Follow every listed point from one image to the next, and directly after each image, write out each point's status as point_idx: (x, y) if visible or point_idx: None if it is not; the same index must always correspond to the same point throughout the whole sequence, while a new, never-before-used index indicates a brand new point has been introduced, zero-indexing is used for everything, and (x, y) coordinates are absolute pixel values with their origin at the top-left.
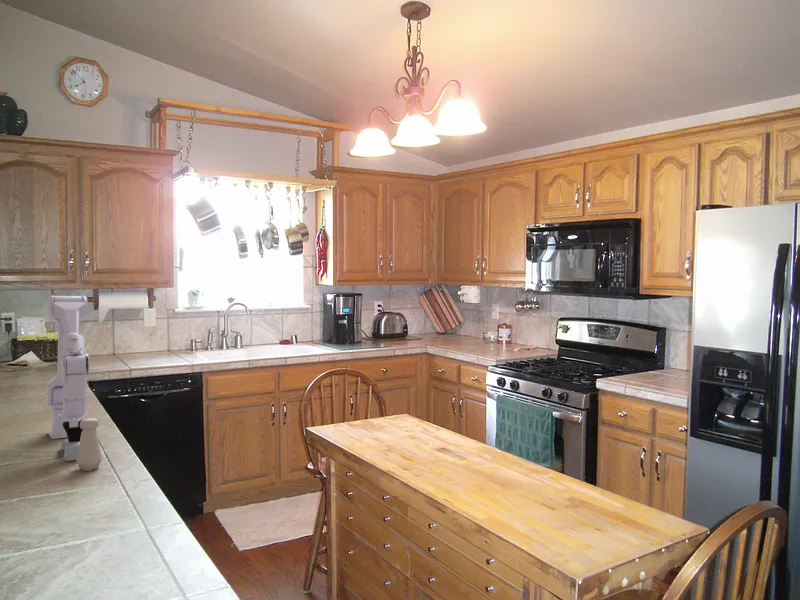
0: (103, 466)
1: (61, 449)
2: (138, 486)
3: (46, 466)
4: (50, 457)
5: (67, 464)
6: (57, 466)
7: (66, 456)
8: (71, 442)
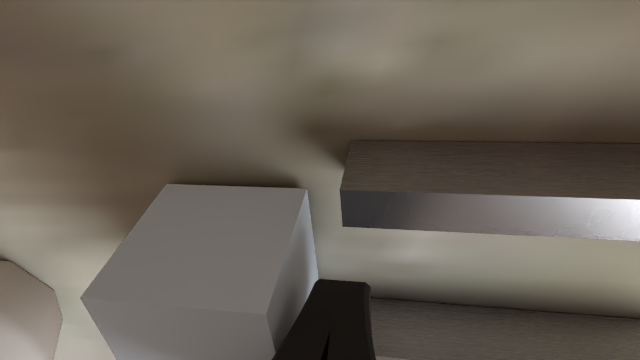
0: (64, 346)
1: (354, 199)
2: None
3: (28, 35)
4: (377, 41)
5: (98, 194)
6: (38, 128)
7: (149, 221)
8: (254, 353)
